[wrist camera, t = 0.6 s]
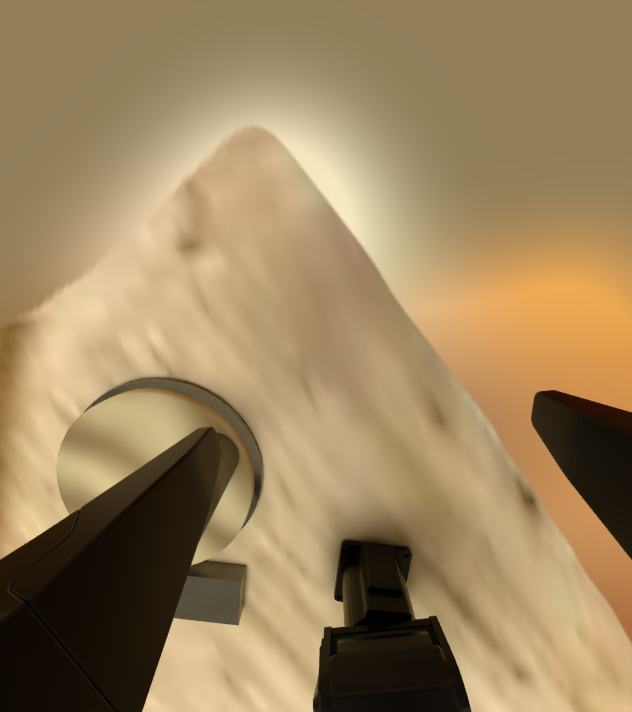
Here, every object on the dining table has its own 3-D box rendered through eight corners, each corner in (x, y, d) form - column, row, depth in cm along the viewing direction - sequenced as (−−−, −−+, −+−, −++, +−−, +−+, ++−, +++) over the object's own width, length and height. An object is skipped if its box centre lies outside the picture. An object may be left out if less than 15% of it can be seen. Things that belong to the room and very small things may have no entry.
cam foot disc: (165, 619, 30) (81, 790, 20) (16, 533, 28) (-160, 671, 18) (291, 459, 26) (268, 569, 16) (126, 349, 24) (-19, 391, 14)
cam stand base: (253, 608, 31) (248, 627, 29) (84, 589, 31) (70, 607, 29) (269, 389, 26) (265, 396, 24) (69, 367, 26) (51, 373, 24)
